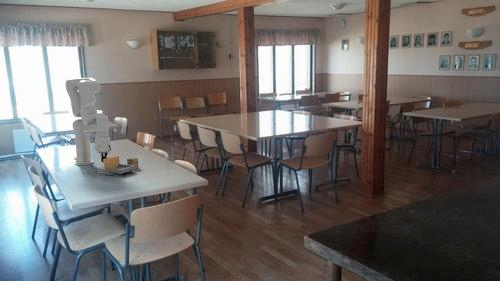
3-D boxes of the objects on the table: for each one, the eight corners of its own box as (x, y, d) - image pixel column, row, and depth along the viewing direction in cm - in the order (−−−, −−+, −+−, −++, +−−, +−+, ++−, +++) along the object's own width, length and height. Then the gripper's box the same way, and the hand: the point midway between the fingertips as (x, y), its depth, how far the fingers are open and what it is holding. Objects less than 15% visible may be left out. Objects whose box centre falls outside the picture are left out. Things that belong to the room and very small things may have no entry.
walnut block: (127, 168, 273) (127, 158, 272) (132, 167, 278) (132, 157, 276) (133, 169, 271) (132, 159, 270) (138, 167, 276) (138, 157, 274)
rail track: (96, 172, 263) (96, 172, 262) (108, 169, 272) (108, 168, 272) (124, 176, 253) (124, 175, 253) (135, 172, 263) (135, 171, 263)
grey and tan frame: (104, 173, 258) (103, 159, 256) (118, 168, 270) (117, 155, 268) (121, 175, 252) (120, 161, 251) (135, 170, 264) (134, 157, 262)
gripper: (89, 134, 262) (91, 161, 265) (107, 136, 256) (108, 164, 259) (98, 132, 269) (99, 159, 272) (115, 134, 262) (117, 161, 266)
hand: (104, 161), depth 266 cm, fingers closed
